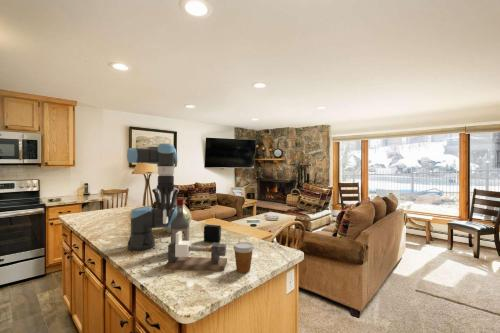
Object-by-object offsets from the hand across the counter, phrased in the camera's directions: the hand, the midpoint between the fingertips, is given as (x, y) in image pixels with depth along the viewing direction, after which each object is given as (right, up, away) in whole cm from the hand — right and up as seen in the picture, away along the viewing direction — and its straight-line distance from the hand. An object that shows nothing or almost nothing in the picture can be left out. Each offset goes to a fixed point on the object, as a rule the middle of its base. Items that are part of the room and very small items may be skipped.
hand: (165, 223), depth 121 cm
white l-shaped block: (+9, -16, 0) cm, 18 cm away
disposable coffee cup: (+38, -21, -5) cm, 44 cm away
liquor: (+2, -21, +17) cm, 27 cm away
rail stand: (+16, -21, 0) cm, 26 cm away
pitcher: (-14, -20, +59) cm, 64 cm away
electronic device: (+17, -20, +37) cm, 46 cm away
